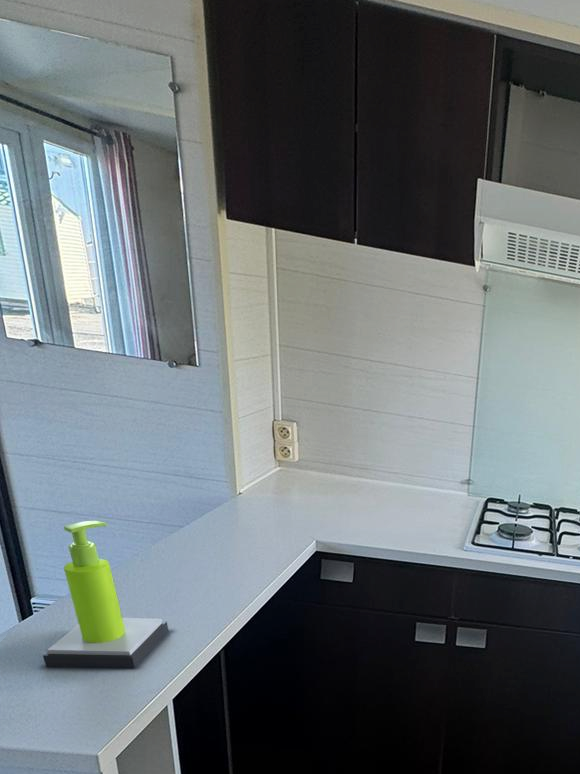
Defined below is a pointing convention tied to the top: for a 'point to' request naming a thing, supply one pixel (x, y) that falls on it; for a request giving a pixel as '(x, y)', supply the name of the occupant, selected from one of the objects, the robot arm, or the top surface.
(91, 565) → the soap dispenser
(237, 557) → the top surface
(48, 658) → the kitchen scale
